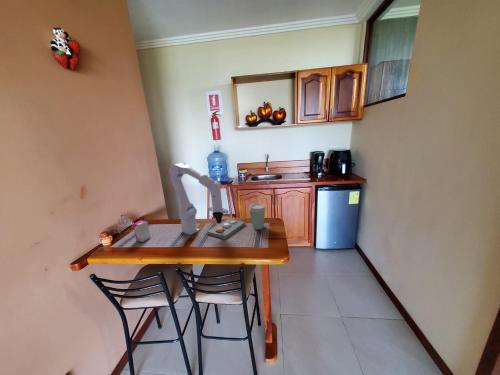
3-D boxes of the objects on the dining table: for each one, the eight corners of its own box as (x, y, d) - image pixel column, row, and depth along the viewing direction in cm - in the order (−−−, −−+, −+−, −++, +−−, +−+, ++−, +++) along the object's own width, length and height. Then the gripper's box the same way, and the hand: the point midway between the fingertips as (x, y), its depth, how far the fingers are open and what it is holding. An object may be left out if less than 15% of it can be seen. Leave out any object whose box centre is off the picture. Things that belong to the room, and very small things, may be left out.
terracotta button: (215, 232, 120) (215, 229, 120) (219, 229, 123) (219, 226, 123) (220, 233, 118) (220, 230, 117) (224, 230, 121) (224, 227, 121)
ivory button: (222, 227, 125) (222, 225, 125) (226, 225, 129) (226, 222, 128) (227, 229, 123) (227, 226, 123) (231, 226, 126) (231, 223, 126)
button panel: (207, 234, 121) (207, 231, 121) (228, 221, 138) (228, 218, 138) (225, 239, 114) (224, 236, 114) (245, 224, 131) (244, 222, 131)
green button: (228, 225, 131) (228, 222, 130) (232, 222, 134) (232, 220, 134) (233, 226, 129) (233, 223, 128) (237, 223, 132) (237, 221, 131)
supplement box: (151, 238, 122) (147, 221, 119) (142, 242, 116) (138, 225, 114) (144, 236, 124) (141, 219, 121) (136, 241, 119) (132, 223, 116)
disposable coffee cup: (264, 223, 132) (263, 201, 128) (268, 230, 122) (267, 207, 118) (249, 224, 131) (247, 203, 127) (251, 232, 120) (250, 209, 117)
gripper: (203, 202, 116) (206, 223, 120) (221, 205, 109) (224, 227, 112) (211, 198, 122) (213, 219, 126) (229, 201, 114) (231, 223, 118)
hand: (219, 223), depth 119 cm, fingers closed
